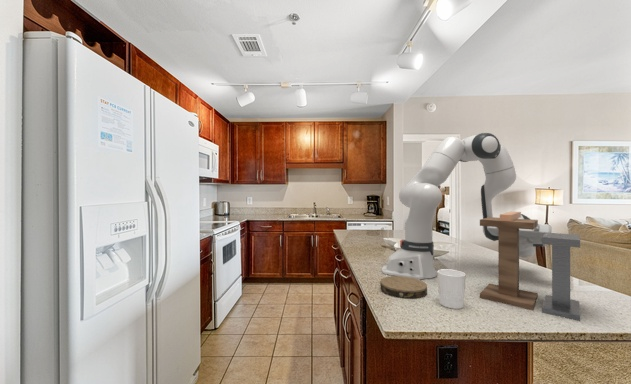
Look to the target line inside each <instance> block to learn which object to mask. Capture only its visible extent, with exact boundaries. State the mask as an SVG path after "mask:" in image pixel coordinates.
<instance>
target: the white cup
mask: <svg viewBox="0 0 631 384" xmlns="http://www.w3.org/2000/svg"><path fill="white" fill-rule="evenodd" d="M436 273H437V287H438V289H437V290H438V301H439V303H438V304H440V305H441V306H443V307H445V308H449V309H455V310H457V309H458V310H460V309H462V308H463V309H464V302H465V301H464V299H465V294H466V293H465V289H466V276H467V275H466V273H465V272H463V271H460V270H456V269H450V268H449V269H447V268H444V269H443V268H442V269H438V270H437V272H436Z"/></svg>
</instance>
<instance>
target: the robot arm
mask: <svg viewBox="0 0 631 384" xmlns="http://www.w3.org/2000/svg"><path fill="white" fill-rule="evenodd" d="M476 161H479V163H481V165H482V168H483V171H484V175H485V181H484V183H483V184H482V185H481V187H480V199H481V200H480V201H481V212H482V219H484V218H488V217H494V216H493V206H492V205H493V204H492V203H493V200H494V198H495V197H496V196H497V195H499V194H501V193H503V192H504V191H505V190H508V189H510V187H511V186H512V185H513V184H514V183H515V181H516V180H517V174H516V172H517V171H516V170H515V169H516V168H515V166H514V163H513V160H512V157H511V156H510V153H509V151H508V150H507V148H506V147H505V146H504V145H501V142H500V140H499V138H498V137H497V136H496V135H494V134H493V133H490V132H482V133H479V134H474V135H469V136H467V137H464V138H463V139H461V138H459V137H456V136H448V137H445V138H444V139H443V140H442V141H441V142H440V143H439V144H438V145H437V146H436V148H435V149H434V150H433V152H432V153H431V154H430V156H429V158H428V159H427V161H426V162H425V163H424V165H423V166H422V167H421V168H420V169H419V171H418V172H417V173H416V174H415V175H414V176H413V177H412V178H411V179H410V181H409V182H407V184H406V185H404V186H403V187H402V188H401V189H400V191H399V194H398V198H399V201H400V203H402V205H404V206H406V207H408V208H409V212H408V216H407V218H406V220H405V223H404V224H405V225H404V226H405V227H404V228H405V229H404V230H405V232H404V236H405V237H404V238H405V239H404V238H402V239H401V240H400V241H399V243H400V244H399V246H400V248H398V249H397V250H396V251H395V252H393V253H391V254H390V255H389V256H388V258H387V261H386V262H387V263H386V264H385V265H383V266H382V267H381V273H382V274H384V275H389V276H402V277H410V278H415V279H418V280H423V279H432V278H435V277H438V274H437V272H436V269H435V263H434V262H435V261H434V253H435V250H434V249H435V245H434V241H433V231H434V230H433V225H434V219H435V216H436V211H437V209H438V206H439V205H440V204H441V202H442V201H443V193H442V191H441V189H440V188H439V186H441V185H442V184H443V183H445V182H446V181H447V180H448V178H449V177H450V175H451V174H452V172H453V171H454V169H455V168H456V167H457V164H459V162H461V163H463V162H464V163H467V162H476ZM518 219H531V218H530V217H528V216H527V215H525V214H523V213H521V217H520V218H518ZM482 232H483V234H484V236H485V238H487V239H488V240H491V241H493V242H496V241H498V227H491V226H482ZM545 232H548V233H553V231H552V225H549V224H543V223H542V224H540V223H538V226H537V227H536V228H535V229H533V230H532V229H519V258H522V259H523V258H530V257H532V256H533V255H534V254H535V252H536V247H547V246H548V244H542V237H543V235H544V234H545Z"/></svg>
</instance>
